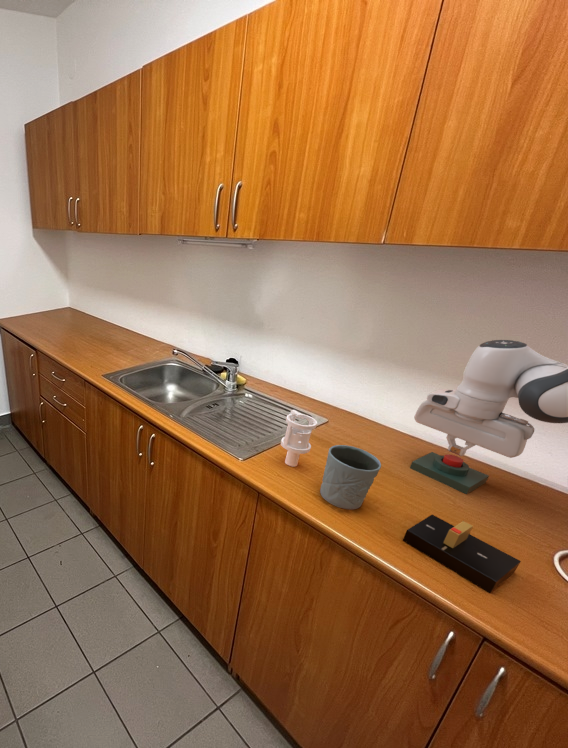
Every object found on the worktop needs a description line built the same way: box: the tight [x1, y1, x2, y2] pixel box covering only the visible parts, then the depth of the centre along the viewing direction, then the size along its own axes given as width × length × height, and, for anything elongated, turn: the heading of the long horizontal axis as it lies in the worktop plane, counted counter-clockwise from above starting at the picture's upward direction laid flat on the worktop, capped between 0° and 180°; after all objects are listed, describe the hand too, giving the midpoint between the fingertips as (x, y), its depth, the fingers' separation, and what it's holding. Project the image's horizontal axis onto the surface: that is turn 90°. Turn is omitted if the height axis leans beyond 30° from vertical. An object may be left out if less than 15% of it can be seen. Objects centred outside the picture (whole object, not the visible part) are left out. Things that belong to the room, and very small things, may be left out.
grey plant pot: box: [319, 444, 382, 510], centre depth 94 cm, size 10×10×12 cm
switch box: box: [409, 451, 490, 495], centre depth 103 cm, size 12×10×4 cm
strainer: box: [280, 409, 318, 468], centre depth 106 cm, size 7×7×15 cm
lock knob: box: [443, 520, 474, 548], centre depth 79 cm, size 6×2×4 cm, turn 116°
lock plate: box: [402, 514, 522, 594], centre depth 79 cm, size 14×10×3 cm
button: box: [442, 453, 464, 468], centre depth 102 cm, size 4×4×2 cm
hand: (455, 452), depth 101 cm, fingers closed
